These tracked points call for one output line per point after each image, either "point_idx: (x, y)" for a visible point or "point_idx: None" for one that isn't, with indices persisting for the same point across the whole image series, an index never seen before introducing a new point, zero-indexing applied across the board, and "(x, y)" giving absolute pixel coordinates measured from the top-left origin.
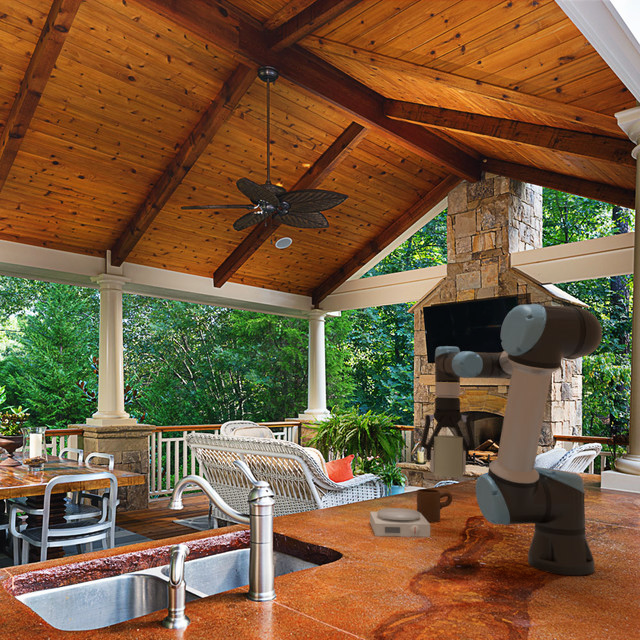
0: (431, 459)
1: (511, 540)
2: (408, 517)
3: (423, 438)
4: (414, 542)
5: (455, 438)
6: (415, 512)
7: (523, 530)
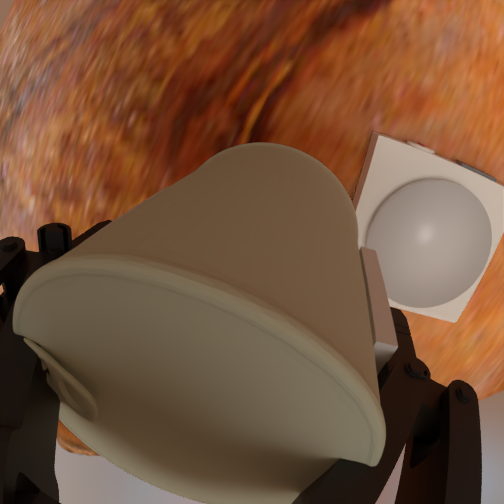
0: (384, 295)
1: (154, 66)
2: (439, 180)
3: (476, 449)
4: (440, 91)
5: (94, 257)
6: (382, 237)
7: (90, 162)
